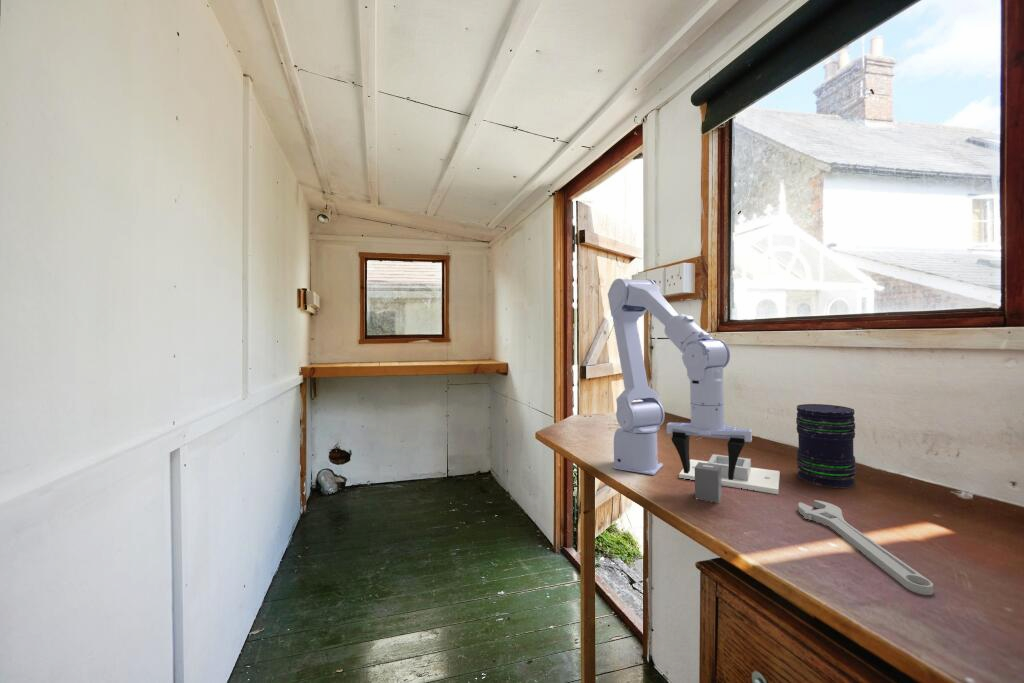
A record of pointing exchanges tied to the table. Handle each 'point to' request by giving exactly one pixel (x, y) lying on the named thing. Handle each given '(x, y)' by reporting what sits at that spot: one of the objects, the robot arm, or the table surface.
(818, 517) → the adjustable wrench
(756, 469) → the outlet plate
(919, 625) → the table surface
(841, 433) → the dark blue barrel
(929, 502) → the table surface
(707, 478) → the block
